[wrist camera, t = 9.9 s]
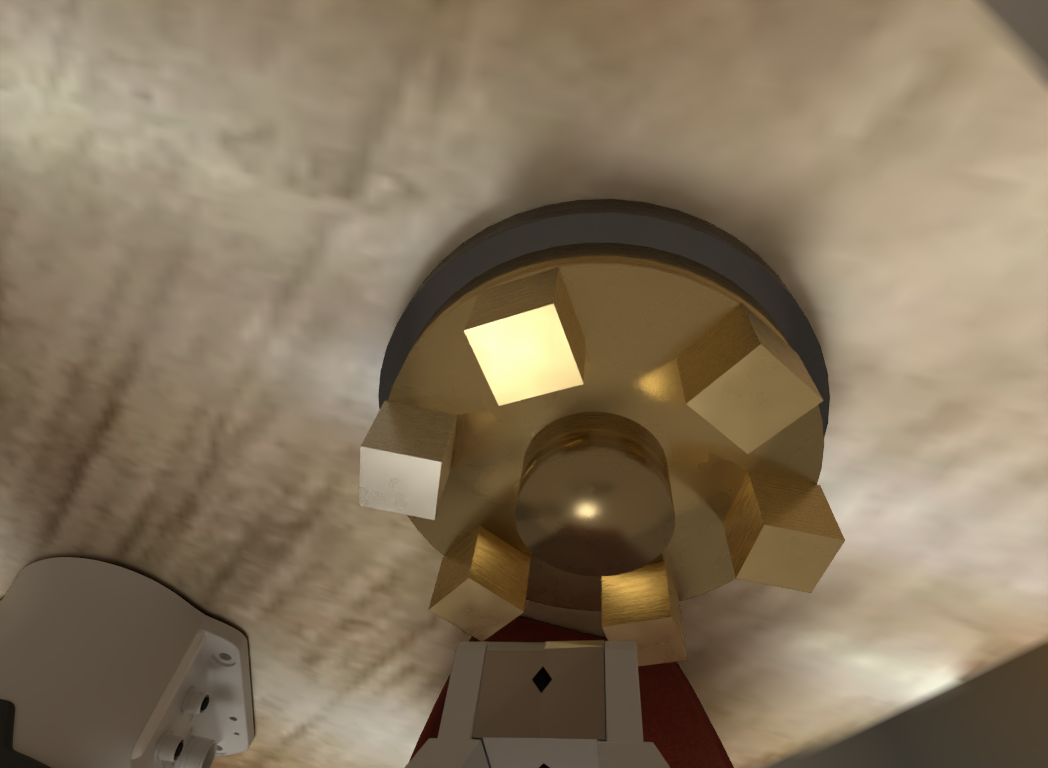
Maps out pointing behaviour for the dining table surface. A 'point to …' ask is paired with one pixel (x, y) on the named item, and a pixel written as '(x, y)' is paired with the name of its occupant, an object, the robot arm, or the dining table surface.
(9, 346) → the dining table surface
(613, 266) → the ring nut
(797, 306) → the nut base
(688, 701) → the plant pot
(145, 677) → the robot arm
